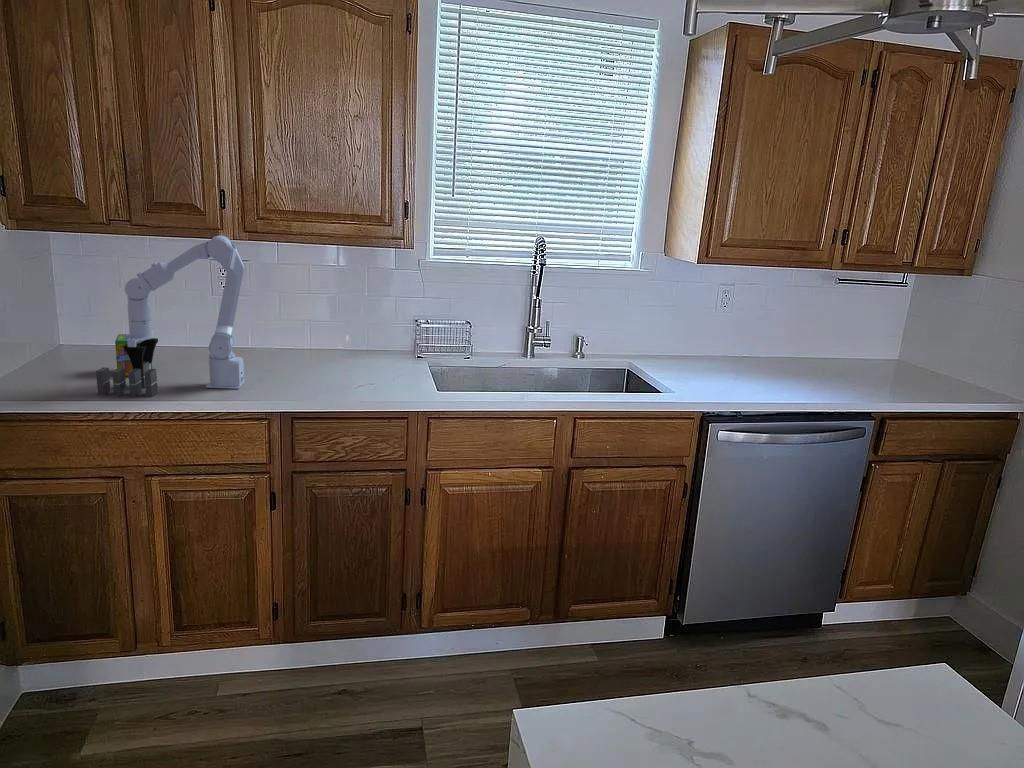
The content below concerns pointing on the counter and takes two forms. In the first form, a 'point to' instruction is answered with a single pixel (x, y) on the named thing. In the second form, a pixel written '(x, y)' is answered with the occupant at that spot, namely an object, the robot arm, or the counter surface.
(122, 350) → the chalk box
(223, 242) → the robot arm
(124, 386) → the domino
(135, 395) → the domino
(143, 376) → the domino
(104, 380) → the domino
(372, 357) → the counter surface
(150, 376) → the domino
